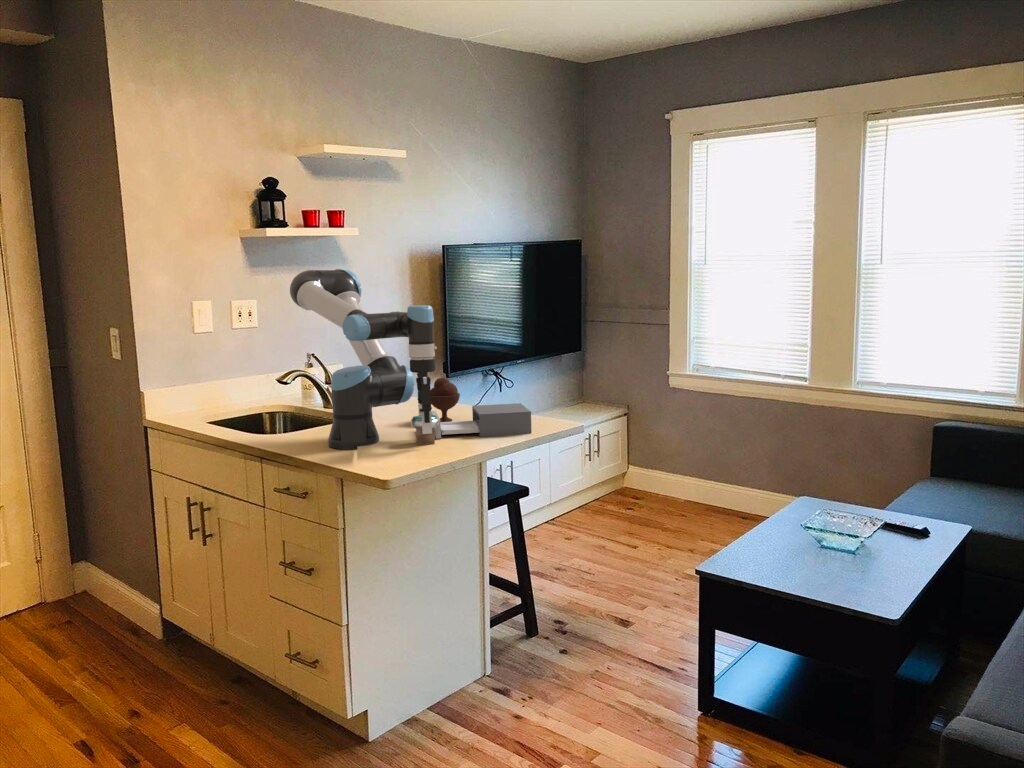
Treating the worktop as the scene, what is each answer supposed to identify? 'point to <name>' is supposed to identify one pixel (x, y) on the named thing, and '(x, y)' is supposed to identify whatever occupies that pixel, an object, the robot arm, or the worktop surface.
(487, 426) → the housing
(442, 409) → the ice cream bowl
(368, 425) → the robot arm
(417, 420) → the disc
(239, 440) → the worktop surface
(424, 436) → the block
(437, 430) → the tray
